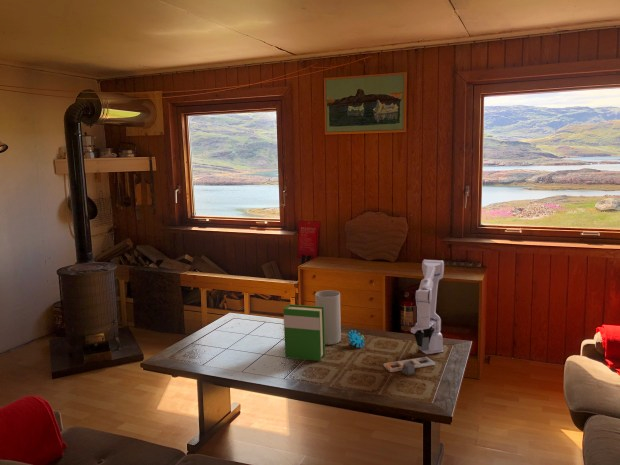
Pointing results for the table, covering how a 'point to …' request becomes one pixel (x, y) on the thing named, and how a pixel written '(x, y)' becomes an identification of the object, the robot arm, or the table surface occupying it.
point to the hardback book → (304, 332)
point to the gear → (356, 339)
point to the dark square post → (425, 343)
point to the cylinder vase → (330, 315)
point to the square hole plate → (414, 361)
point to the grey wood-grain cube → (408, 368)
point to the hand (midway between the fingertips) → (423, 344)
